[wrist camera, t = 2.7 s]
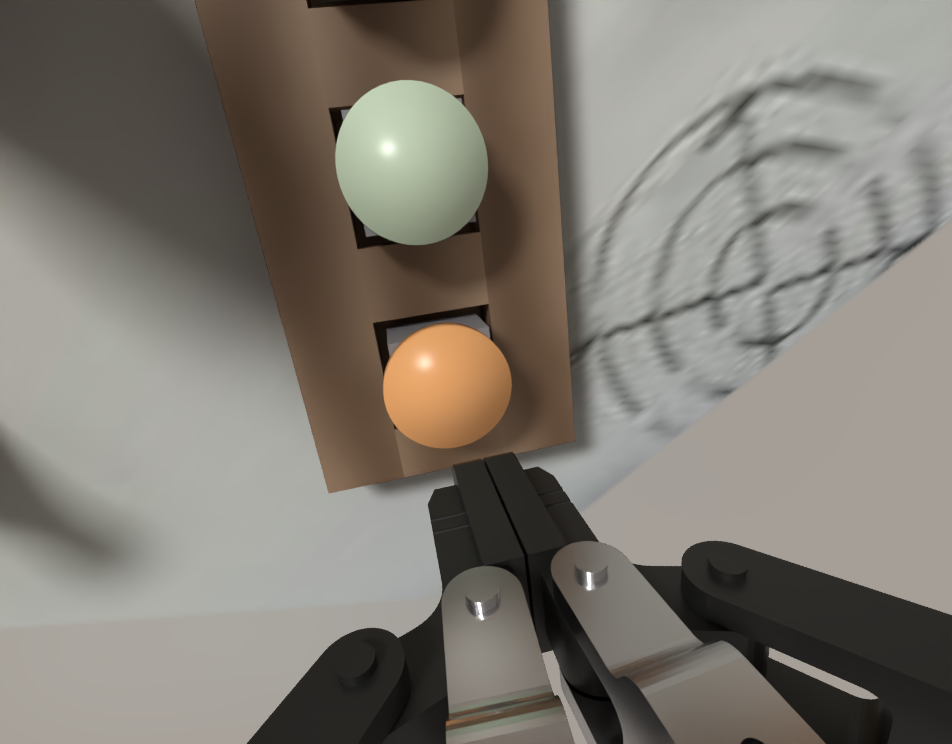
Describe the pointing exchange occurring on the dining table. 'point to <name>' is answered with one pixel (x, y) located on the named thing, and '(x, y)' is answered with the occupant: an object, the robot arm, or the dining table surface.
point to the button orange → (445, 380)
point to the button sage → (411, 162)
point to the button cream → (333, 0)
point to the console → (384, 261)
